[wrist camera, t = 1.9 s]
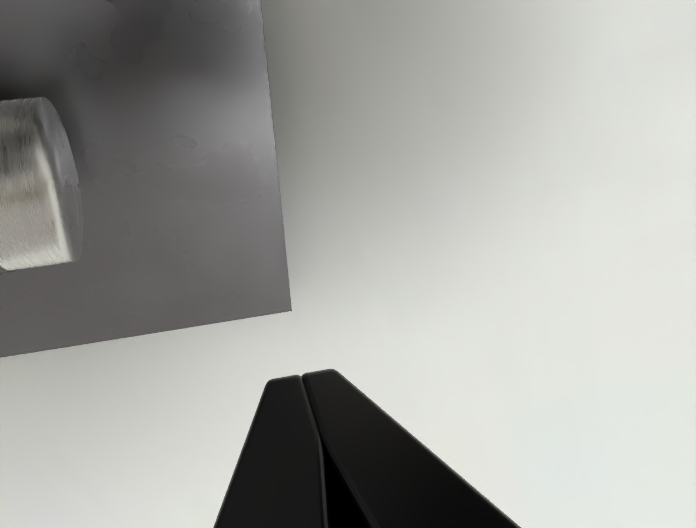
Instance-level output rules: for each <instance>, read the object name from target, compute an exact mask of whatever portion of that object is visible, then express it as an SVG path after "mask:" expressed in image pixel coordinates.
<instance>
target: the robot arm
mask: <svg viewBox="0 0 696 528" xmlns="http://www.w3.org/2000/svg"><path fill="white" fill-rule="evenodd" d="M213 528H521V527H520V526H518V525H517V524H516V523H515V522H514V521H513V520H511V519H510V518H509V517H508V516H507V515H506V514H504V513H503V512H502V511H501V510H500V509H499V508H497V507H496V506H495V505H494V504H493V503H491V502H490V501H489V500H488V499H487V498H486V497H484V496H483V495H482V494H481V493H480V492H479V491H477V490H476V489H475V488H474V487H473V486H472V485H470V484H469V483H468V482H467V481H466V480H465V479H463V478H462V477H461V476H460V475H459V474H457V473H456V472H455V471H454V470H453V469H452V468H450V467H449V466H448V465H447V464H446V463H445V462H443V461H442V460H441V459H440V458H439V457H438V456H436V455H435V454H434V453H433V452H432V451H430V450H429V449H428V448H427V447H426V446H425V445H423V444H422V443H421V442H420V441H419V440H418V439H416V438H415V437H414V436H413V435H412V434H411V433H409V432H408V431H407V430H406V429H405V428H404V427H402V426H401V425H400V424H399V423H398V422H396V421H395V420H394V419H393V418H392V417H391V416H389V415H388V414H387V413H386V412H385V411H384V410H382V409H381V408H380V407H379V406H378V405H377V404H375V403H374V402H373V401H372V400H371V399H369V398H368V397H367V396H366V395H365V394H364V393H362V392H361V391H360V390H359V389H358V388H357V387H355V386H354V385H353V384H352V383H351V382H350V381H348V380H347V379H346V378H345V377H344V376H343V375H341V374H340V373H339V372H338V371H336V370H334V369H326V370H321V371H315V372H310V373H305V374H303V375H302V377H301V376H299V375H293V376H287V377H282V378H276V379H271V380H269V381H268V382H267V384H266V385H265V388H264V391H263V393H262V396H261V399H260V402H259V404H258V407H257V410H256V413H255V415H254V418H253V421H252V423H251V426H250V429H249V432H248V434H247V437H246V440H245V443H244V445H243V448H242V451H241V454H240V456H239V459H238V462H237V464H236V467H235V470H234V473H233V475H232V478H231V481H230V484H229V486H228V489H227V492H226V494H225V497H224V500H223V503H222V505H221V508H220V511H219V514H218V516H217V519H216V522H215V525H214V527H213Z"/></svg>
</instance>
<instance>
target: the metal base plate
mask: <svg viewBox="0 0 696 528" xmlns="http://www.w3.org/2000/svg"><path fill="white" fill-rule="evenodd" d="M37 97H45V98H47V99H48V100H49V101H50V102H51V103H52V104H53V106H54V107H55V109H56V111H57V113H58V115H59V117H60V119H61V121H62V124H63V126H64V129H65V132H66V134H67V137H68V141H69V144H70V147H71V151H72V154H73V158H74V162H75V167H76V171H77V176H78V181H79V187H80V194H81V201H82V211H83V246H82V251H81V255H80V257H79V259H78V260H77V261H76V262H69V263H62V264H55V265H48V266H40V267H33V268H26V269H19V270H16V271H14V272H7V273H1V275H0V358H1V357H7V356H13V355H19V354H26V353H32V352H38V351H44V350H51V349H57V348H63V347H69V346H75V345H82V344H88V343H94V342H100V341H107V340H113V339H119V338H125V337H132V336H138V335H144V334H150V333H157V332H163V331H169V330H175V329H182V328H188V327H194V326H200V325H207V324H213V323H219V322H225V321H231V320H238V319H244V318H250V317H256V316H263V315H269V314H275V313H281V312H288V311H292V308H291V298H290V288H289V278H288V268H287V258H286V249H285V239H284V229H283V219H282V209H281V199H280V189H279V179H278V170H277V160H276V150H275V140H274V130H273V120H272V110H271V101H270V91H269V81H268V71H267V61H266V51H265V41H264V31H263V22H262V12H261V2H260V0H0V101H6V100H16V99H27V98H37Z"/></svg>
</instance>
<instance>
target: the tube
mask: <svg viewBox="0 0 696 528" xmlns="http://www.w3.org/2000/svg"><path fill="white" fill-rule="evenodd" d="M82 246H83V211H82V201H81V194H80V187H79V181H78V176H77V171H76V167H75V162H74V158H73V154H72V151H71V147H70V144H69V141H68V137H67V134H66V132H65V129H64V126H63V124H62V121H61V119H60V117H59V115H58V113H57V111H56V109H55V107H54V106H53V104H52V103H51V102H50V101H49V100H48V99H47V98H45V97H37V98H27V99H16V100H6V101H0V275H1V273H7V272H14V271H16V270H19V269H26V268H33V267H40V266H48V265H55V264H62V263H69V262H76V261H77V260H78V259H79V257H80V255H81V251H82Z"/></svg>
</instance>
